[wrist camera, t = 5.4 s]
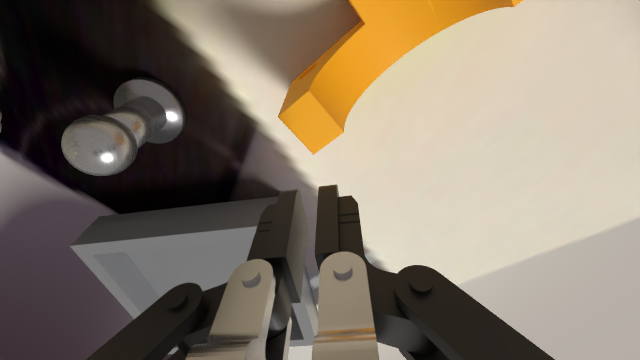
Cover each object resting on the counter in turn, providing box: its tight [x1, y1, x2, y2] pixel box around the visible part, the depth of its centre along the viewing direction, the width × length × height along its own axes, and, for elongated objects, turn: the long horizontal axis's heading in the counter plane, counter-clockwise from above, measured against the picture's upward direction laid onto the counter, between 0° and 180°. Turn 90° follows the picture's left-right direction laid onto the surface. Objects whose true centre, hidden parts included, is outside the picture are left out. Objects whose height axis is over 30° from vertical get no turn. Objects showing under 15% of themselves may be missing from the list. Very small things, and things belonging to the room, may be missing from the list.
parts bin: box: [70, 196, 318, 354], centre depth 28 cm, size 17×17×4 cm
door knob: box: [61, 77, 187, 176], centre depth 17 cm, size 4×4×7 cm
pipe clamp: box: [278, 0, 523, 155], centre depth 14 cm, size 12×4×6 cm, turn 130°
